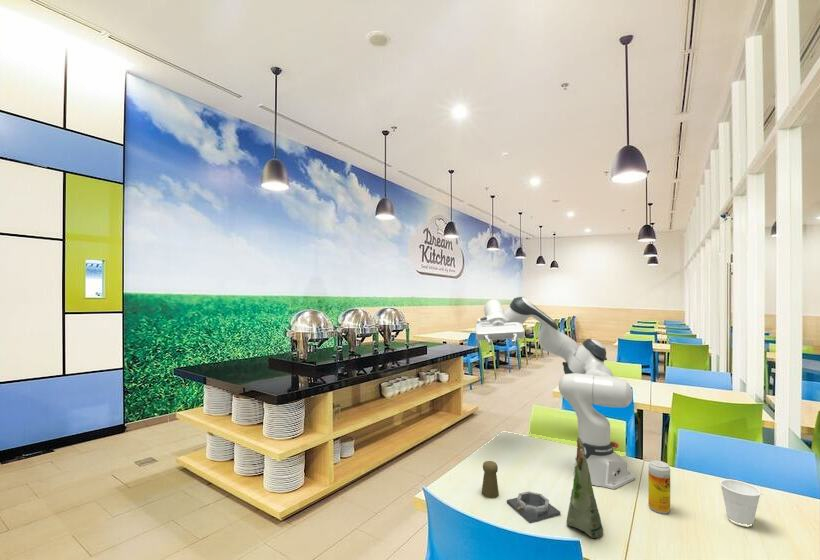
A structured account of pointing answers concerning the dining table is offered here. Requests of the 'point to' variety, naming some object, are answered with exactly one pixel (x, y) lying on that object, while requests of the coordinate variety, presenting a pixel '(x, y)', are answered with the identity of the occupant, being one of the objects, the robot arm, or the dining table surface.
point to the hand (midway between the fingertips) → (502, 343)
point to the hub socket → (533, 507)
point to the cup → (740, 500)
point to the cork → (490, 480)
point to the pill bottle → (659, 486)
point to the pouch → (583, 499)
